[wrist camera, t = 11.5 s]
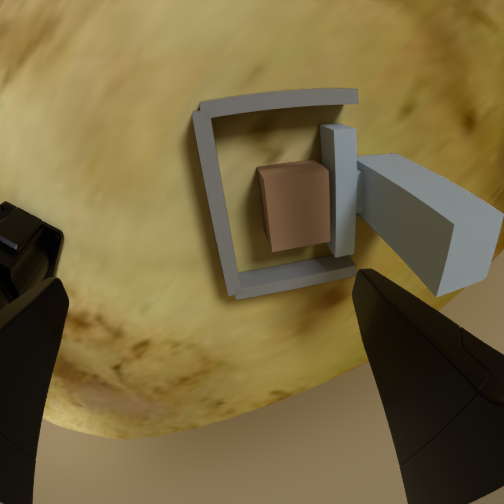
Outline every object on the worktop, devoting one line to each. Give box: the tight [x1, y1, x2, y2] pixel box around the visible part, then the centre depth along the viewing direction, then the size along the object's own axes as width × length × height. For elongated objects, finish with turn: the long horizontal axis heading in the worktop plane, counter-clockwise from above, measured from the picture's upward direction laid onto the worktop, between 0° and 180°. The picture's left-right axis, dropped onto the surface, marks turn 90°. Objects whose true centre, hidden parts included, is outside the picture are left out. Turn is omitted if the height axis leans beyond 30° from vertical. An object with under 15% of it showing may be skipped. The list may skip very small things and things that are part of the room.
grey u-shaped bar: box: [192, 88, 359, 300], centre depth 20 cm, size 10×14×2 cm
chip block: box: [257, 159, 330, 252], centre depth 20 cm, size 4×5×3 cm
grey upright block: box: [319, 123, 504, 297], centre depth 16 cm, size 6×9×11 cm
